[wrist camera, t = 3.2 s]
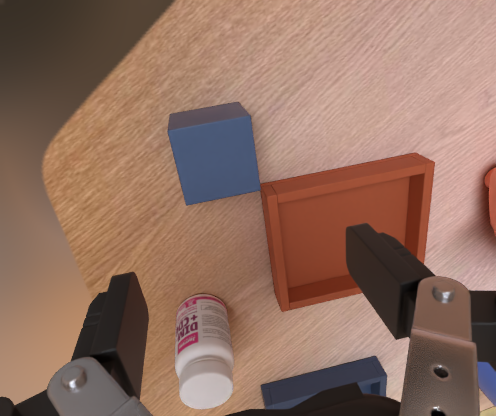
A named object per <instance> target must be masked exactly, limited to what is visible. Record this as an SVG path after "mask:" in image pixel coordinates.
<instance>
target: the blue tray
mask: <svg viewBox="0 0 496 416" xmlns="http://www.w3.org/2000/svg"><path fill="white" fill-rule="evenodd" d="M354 382H357V383H358V385H359V387H360V389H361V391H362V393H368V394H376V395H380V396H385V397H386V385H387V374H386V372H385V371H384V369H383V368H382V366H381V364H380V363H379V361H378V359H377V358H376V356H374V357H370V358H366V359H362V360H358V361H354V362H350V363H346V364H342V365H338V366H334V367H330V368H326V369H323V370H319V371H315V372H311V373H307V374H303V375H299V376H295V377H291V378H287V379H283V380H279V381H276V382H272V383H268V384H264V385H261V390H262V395H263V400H264V405H265V409H290V408H292V407H294V406H296V405H298V404H299V403H301V402H303V401H305V400H307V399H308V398H310V397H312V396H314V395H316V394H317V393H319V392H321V391H323V390H327V389H331V388H334V387H338V386H342V385H346V384H350V383H354Z"/></svg>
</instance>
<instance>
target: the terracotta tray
mask: <svg viewBox="0 0 496 416" xmlns="http://www.w3.org/2000/svg"><path fill="white" fill-rule="evenodd" d="M434 166H435V162H433V161H431V160H429V159H427V158H425V157H423V156H421V155H419V154H418V153H411V154H406V155H401V156H396V157H391V158H387V159H382V160H377V161H372V162H367V163H362V164H357V165H352V166H347V167H342V168H337V169H332V170H327V171H322V172H318V173H313V174H308V175H303V176H298V177H293V178H288V179H283V180H278V181H273V182H268V183H263V184H260V188H261V197H262V204H263V212H264V219H265V226H266V233H267V240H268V248H269V255H270V262H271V269H272V276H273V284H274V291H275V295H276V298H277V300H278V303H279V306H280V309H281V311H282V312H283V311H288V310H292V309H297V308H301V307H305V306H309V305H313V304H318V303H322V302H326V301H330V300H334V299H339V298H343V297H347V296H351V295H355V294H360V293H363V292H362V291H361V290H360V288H359V287H358V285H357V284H356V283H355V281H354V280H353V278H352V277H351V275H350V273H349V271H348V268H347V264H346V228H347V227H348V226H352V225H357V224H362V223H368V224H369V225H370V226H371V227H372V228H373V229H374V230H375V231H376V232H377V233H382V232H384V233H386V234H388V235H390V236H392V237H394V238H396V239H397V240H398V241H399V242H400V243H401V244H402V245H404V248H407V249H408V250H409V251H410V252H411V254H413V255H414V256H415V257H416V258H417V259H418V260H419V261H421V262H422V263H423V264H424V259H425V250H426V241H427V231H428V222H429V213H430V203H431V194H432V185H433V175H434Z"/></svg>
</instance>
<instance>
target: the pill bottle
mask: <svg viewBox="0 0 496 416" xmlns="http://www.w3.org/2000/svg"><path fill="white" fill-rule="evenodd" d="M233 367H234V354H233V348H232V342H231V335H230V329H229V322H228V315H227V310H226V307H225V305H224V303H223V302H222V301H221V300H220V299H219V298H217V297H215V296H212V295H208V294H199V295H194V296H192V297H189V298H188V299H186V300H185V301H184V302H183V303H182V304H181V305H180V306H179V308H178V310H177V313H176V339H175V370H176V374H177V376H178V378H179V395H180V399H181V400H182V402H183V403H184V404H185V405H187V406H188V407H191V408H194V409H210V408H214V407H217V406H219V405H221V404H223V403H224V402H226V401H227V400H228V399H229V398H230V396H231V395H232V392H233V374H232V370H233Z"/></svg>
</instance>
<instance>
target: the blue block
mask: <svg viewBox="0 0 496 416" xmlns="http://www.w3.org/2000/svg"><path fill="white" fill-rule="evenodd" d="M168 135H169V139H170V143H171V147H172V151H173V155H174V159H175V163H176V167H177V171H178V175H179V179H180V183H181V187H182V191H183V195H184V199H185V203H186V205H192V204H197V203H202V202H206V201H211V200H216V199H221V198H226V197H231V196H236V195H241V194H246V193H250V192H255V191H260V190H261V188H260V180H259V173H258V166H257V159H256V151H255V144H254V137H253V130H252V123H251V116H250V115H249V113H248V112H247V111H246V110H245V109H244V108H243V107H242V106H241V104H240V103H239V102H234V103H228V104H223V105H217V106H212V107H206V108H200V109H195V110H189V111H184V112H178V113H173V114H170V117H169V124H168Z"/></svg>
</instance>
